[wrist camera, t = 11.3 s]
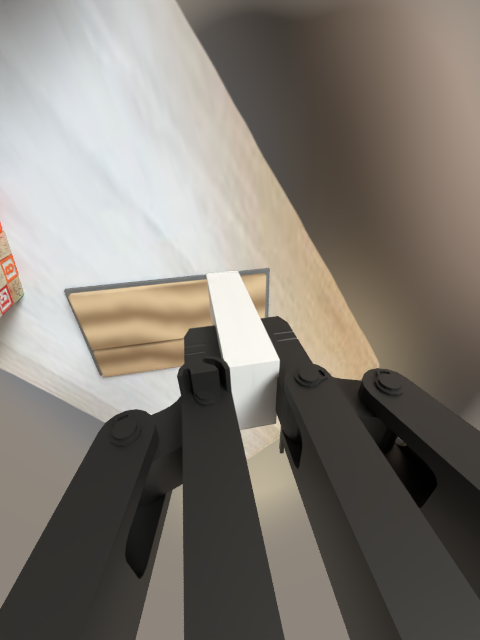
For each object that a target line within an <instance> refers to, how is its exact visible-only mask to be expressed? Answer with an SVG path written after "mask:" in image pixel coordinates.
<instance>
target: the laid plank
mask: <svg viewBox="0 0 480 640" xmlns="http://www.w3.org/2000/svg"><path fill="white" fill-rule="evenodd" d="M94 355H95V358H96V360H97V363H98V365H99V367H100V370H101V372H102V374H103V377H110V376H116V375H123V374H130V373H137V372H144V371H150V370H157V369H164V368H171V367H178V366H183V364H184V338H181V339H173V340H166V341H158V342H151V343H143V344H136V345H128V346H121V347H113V348H106V349H98V350H95V351H94Z"/></svg>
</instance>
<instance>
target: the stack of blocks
mask: <svg viewBox="0 0 480 640" xmlns="http://www.w3.org/2000/svg"><path fill="white" fill-rule="evenodd" d="M23 295H24V292H23V289H22V285H21V282H20V279H19V276H18V271H17V268H16V265H15V262H14V259H13V256H12V254H11V250H10V246H9V244H8V241H7V238H6V235H5V232H4V231H3V229H2V226H1V223H0V318H1V316H2V315H3V314H4V313H5V312H6V311H7V310H8V309H9V308H10V307H11V306H12V305H13V304H15V303H16V302H17V301H18V300H19V299H20V298H21V297H22V296H23Z"/></svg>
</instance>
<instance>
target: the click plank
mask: <svg viewBox="0 0 480 640" xmlns="http://www.w3.org/2000/svg"><path fill="white" fill-rule="evenodd" d="M240 277H241V279H242V281H243V283H244V285H245V287H246V289H247V291H248V294H249V296H250V298H251V300H252V302H253V304H254V306H255V308H256V310H257V313H258V315H259V317H260V318H265V299H266V275H265V273H261V274H252V275H242V276H240ZM68 298H69V300H70V302H71V305H72V307H73V309H74V311H75V313H76V316H77V318H78V320H79V322H80V324H81V327H82V329H83V331H84V333H85V335H86V337H87V340H88V342H89V344H90V346H91V348H92V350H98V349H106V348H113V347H121V346H128V345H136V344H143V343H151V342H158V341H166V340H173V339H181V338H184V336H185V335H186V333H187V331H188V330H189V328H197V327H205V326H212V323H211V314H210V304H209V295H208V285H207V279H204V280H194V281H185V282H175V283H166V284H156V285H147V286H137V287H128V288H118V289H109V290H99V291H89V292H80V293H71V294H70V296H69V297H68Z"/></svg>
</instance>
